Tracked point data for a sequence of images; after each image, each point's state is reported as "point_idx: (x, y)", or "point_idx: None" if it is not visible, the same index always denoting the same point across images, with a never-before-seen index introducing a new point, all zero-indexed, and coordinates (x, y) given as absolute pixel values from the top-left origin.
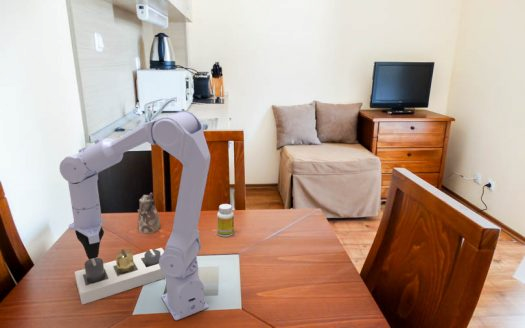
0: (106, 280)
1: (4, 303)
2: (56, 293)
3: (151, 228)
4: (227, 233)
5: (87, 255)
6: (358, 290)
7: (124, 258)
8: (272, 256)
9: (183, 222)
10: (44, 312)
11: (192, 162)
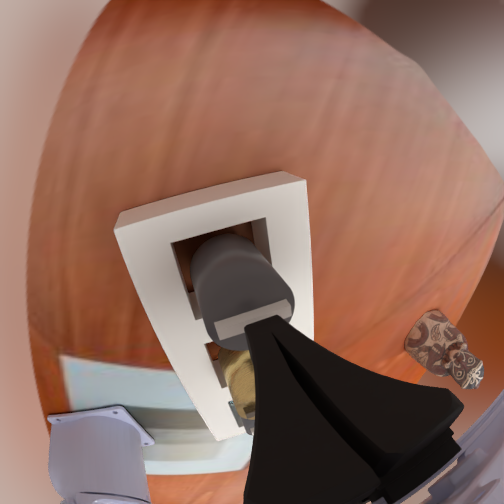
0: (184, 315)
1: None
2: (233, 104)
3: (412, 348)
4: None
5: (250, 345)
6: None
7: (236, 408)
8: (216, 489)
9: None
10: (120, 81)
11: None
